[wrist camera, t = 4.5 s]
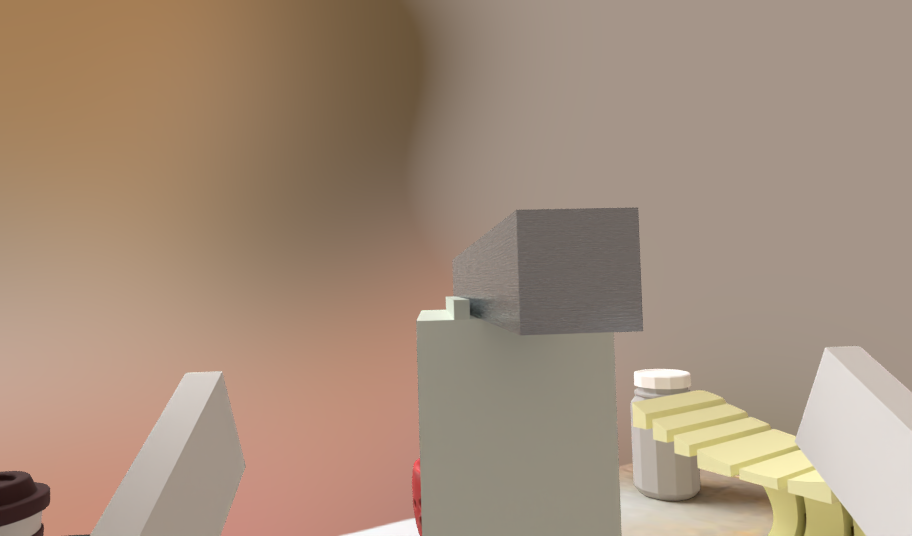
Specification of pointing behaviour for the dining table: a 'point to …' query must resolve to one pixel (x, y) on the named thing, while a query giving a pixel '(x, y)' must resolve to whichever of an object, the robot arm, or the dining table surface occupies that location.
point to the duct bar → (556, 272)
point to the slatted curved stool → (749, 459)
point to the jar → (661, 443)
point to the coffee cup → (22, 504)
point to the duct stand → (515, 429)
